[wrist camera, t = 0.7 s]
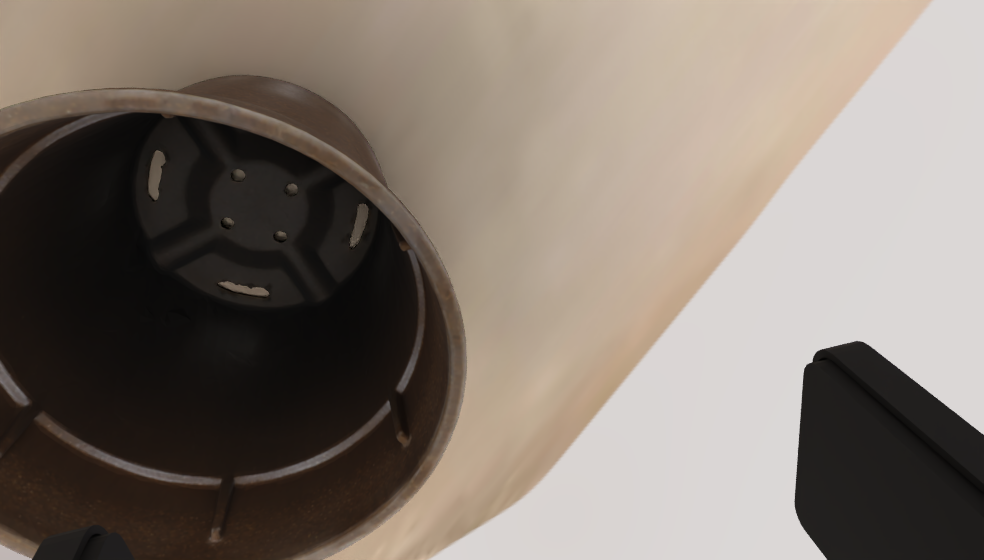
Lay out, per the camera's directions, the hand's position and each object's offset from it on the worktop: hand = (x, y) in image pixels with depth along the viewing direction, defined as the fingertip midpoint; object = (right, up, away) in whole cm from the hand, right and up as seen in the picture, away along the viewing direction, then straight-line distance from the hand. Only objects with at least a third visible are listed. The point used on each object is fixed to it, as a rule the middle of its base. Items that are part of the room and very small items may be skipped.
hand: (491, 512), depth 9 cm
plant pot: (-12, +7, +24) cm, 28 cm away
